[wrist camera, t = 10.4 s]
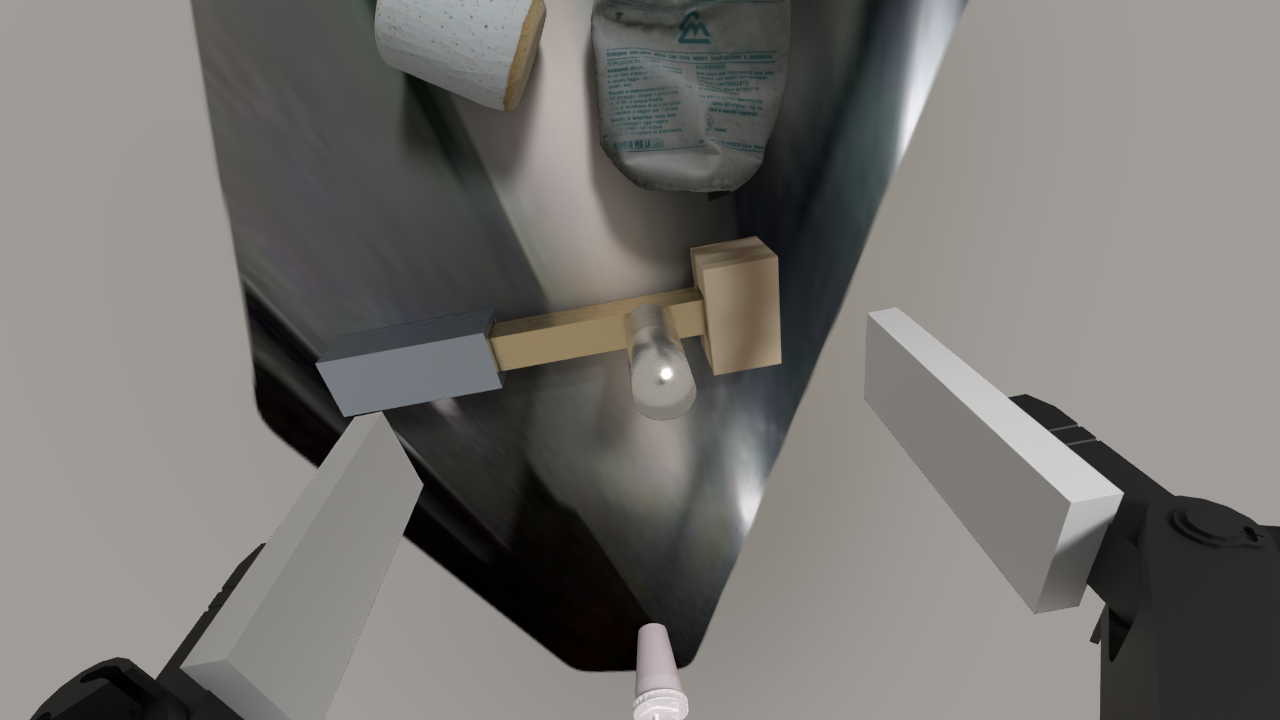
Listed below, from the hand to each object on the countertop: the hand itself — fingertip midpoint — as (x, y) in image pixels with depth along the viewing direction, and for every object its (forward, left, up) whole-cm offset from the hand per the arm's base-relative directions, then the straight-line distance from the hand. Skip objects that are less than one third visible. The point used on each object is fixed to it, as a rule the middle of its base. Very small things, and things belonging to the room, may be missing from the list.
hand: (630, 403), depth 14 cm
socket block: (-2, +13, -29) cm, 32 cm away
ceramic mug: (-3, -14, -29) cm, 33 cm away
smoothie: (+35, +42, -29) cm, 62 cm away
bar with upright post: (+8, +7, -28) cm, 30 cm away
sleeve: (+20, -2, -29) cm, 35 cm away
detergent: (-13, -5, -30) cm, 33 cm away
